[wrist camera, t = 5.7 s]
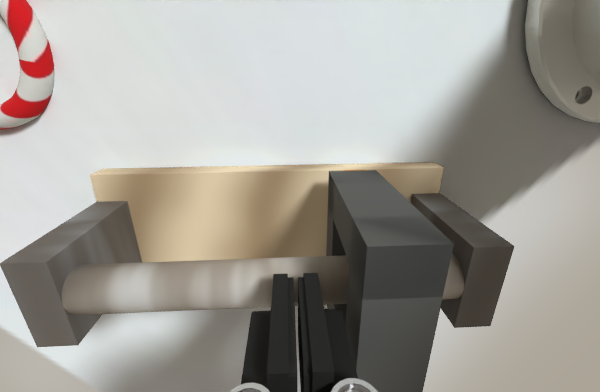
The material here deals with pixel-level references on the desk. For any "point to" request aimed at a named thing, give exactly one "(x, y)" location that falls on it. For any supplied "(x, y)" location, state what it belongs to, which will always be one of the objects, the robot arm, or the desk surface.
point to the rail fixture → (226, 245)
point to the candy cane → (27, 65)
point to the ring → (387, 278)
